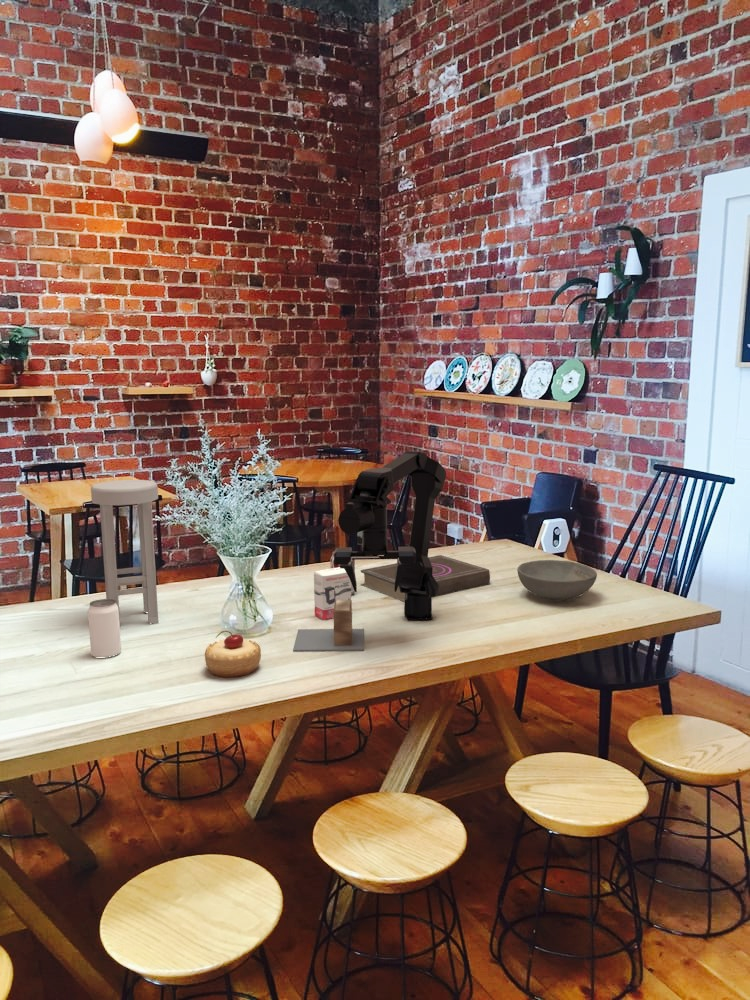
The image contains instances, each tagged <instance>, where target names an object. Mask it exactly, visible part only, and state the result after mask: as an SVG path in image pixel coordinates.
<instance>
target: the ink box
mask: <svg viewBox="0 0 750 1000" xmlns="http://www.w3.org/2000/svg"><path fill="white" fill-rule="evenodd" d="M313 588H314V589H313V591H314V593H313V595H314V616H315V617H317V618H318V619H320V620H322V621H326V620H331V619H334V614H333V612H334V604H335V600H352V594H351V581H350V578H349V576H348V575H347V573H346V571H345V569H344V568H340V567H338V568H332V569H331V568H326V569H321V570H316V571H314V572H313Z"/></svg>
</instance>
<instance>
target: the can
mask: <svg viewBox="0 0 750 1000" xmlns="http://www.w3.org/2000/svg"><path fill="white" fill-rule="evenodd" d="M87 614H88V617H87V618H88V631H89V632H88V633H89V644H90V654H91V656H92V657H93V656H95V657H109V656H113V655H116V654H118V653H119V654H120V653H121V652H122V641H121V639H122V638H121V622H120V623H119V614H120V608H119V609H118V606H117V604H116V600H114V599H106V598H99V599H95V600H93V601H90V602H89V607H88V610H87ZM119 654H118V655H119ZM95 657H94V658H95Z"/></svg>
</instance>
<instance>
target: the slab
mask: <svg viewBox="0 0 750 1000" xmlns="http://www.w3.org/2000/svg"><path fill="white" fill-rule="evenodd" d="M352 604H353V601H352V599H351V600H335V604H334V612H333V614H334V618H333V629H334V646H340V645H352V629H353V605H352Z"/></svg>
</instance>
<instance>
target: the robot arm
mask: <svg viewBox="0 0 750 1000" xmlns="http://www.w3.org/2000/svg"><path fill="white" fill-rule="evenodd" d="M407 476H408V477H409V478H411V479H410V487H411V489H412V491H413V494H414V495H415V496H414V497H415V500H414V506H413V507H414V508H413V514H412V515H413V517H412V523H411V531H410V539H409V546H398V547H397V548H398V550H388V548H389V547H388V511H387V510H388V509H387V508H388V506H387V505H390V504H392V500H391V499H390V498H389V497H388V496H389V495H390V494H391V492H393V491H394V490H395V484H396V483H398V482H399V481H401V480H402V479H404V478H406V477H407ZM446 478H447V471H446V469H445V468H444V466H443V465H442V464H441V463H439V462H438V461H437V460H435V459H433V458H431V457H430V456H428V455H427V454H426V453H425V452H423V451H422V450H421V451H420V450H406V451H404V452H403V454H401V455H400V456H398V457H397V458H395V459H393V460H391V461H389V462H388V463H387V464H385V465H382V466H381V467H376V468H369V469H364V470H362V471H361V472H359V473H358V475H357V477H356V480H355V482H354V485H353V488H352V491H351V493H350V497H349V498H348V502H347V503H345V508H344V509H342V511H341V512H340V514H339V517H338V520H337V521H338V526H339V528H340V529H341V531H342V532H343V533H345V534H346V535H354V534H356V544H357V545H359V546H360V545H361V547H362V548H361V549H362V551H357V550H356V551H355V550H353V548H352V547H351V546H348V547H347V546H344V547H341V546H340V547H336V549H334V551H335V552H334V551H333V552H334V564H335V565H340V568H344V569H345V571H346V573H347V575H348V576H349V578H350V581H351V583H352V586H353V588H354V591H355V592H354V593H357V591H358V589H357V588H358V587H357V586H358V585H357V584H358V583H357V579H356V578H357V577H356V571H355V570H356V569H355V570H354V561H353V560H355V561H356V560H358V561H359V560H396V563H397V567H396V575H395V584H394V589H395V592H396V591H397V588H398V585H399V588H400V593H406V597H405V598H404V602H403V604H404V605H403V612H404V613H403V614H404V617H405V618H406V620H408V621H424V620H425V621H431V620H433V619H434V618H433V614H432V611H433V610H432V607H433V606H432V601H433V597H432V596H435V597H437V596H436V594H437V593H438V588H439V585H438V583H437V582H436V580H435V579H434V577H433V576H432V570H433V567H432V565H431V562H430V560H429V558H428V557H429V550H430V542H431V541H430V540H431V532H432V525H433V517H434V510H435V503H436V499H437V498H438V496H439V495H440V494H441V492H442V491H443V489H444V484H445V481H446Z"/></svg>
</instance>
